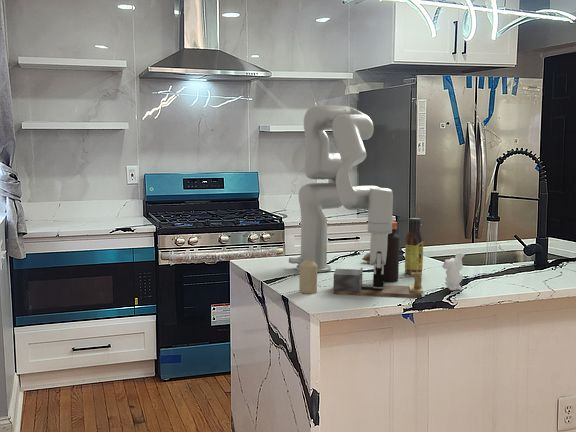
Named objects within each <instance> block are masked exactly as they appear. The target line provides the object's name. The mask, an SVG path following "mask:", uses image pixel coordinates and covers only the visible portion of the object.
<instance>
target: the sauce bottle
mask: <svg viewBox="0 0 576 432" xmlns="http://www.w3.org/2000/svg"><path fill="white" fill-rule="evenodd" d="M408 223H409V231H408V233H407V234H406V236H405V247H404V248H405V249H404V251H405V252H404V253H405V254H404V272H405V274H407V275H411V274H412V272H414V273H416V272H419V273H422V274H423V261H424V260H423V259H424V239H423V235H422V233H421V232H422V231H421V223H422V219H421V218H418V217H410V218H409V219H408Z"/></svg>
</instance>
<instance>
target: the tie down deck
mask: <svg viewBox="0 0 576 432" xmlns="http://www.w3.org/2000/svg"><path fill="white" fill-rule="evenodd" d="M363 270H364V269H363V267H360V268H359V269H354V268H353V269H351V268H335V270H334V272H333V287H332V288H333V290H332V295H346V296H347V295H350V296H368V297H369V296H370V297H371V296H372V297H391V298H392V297H395V298H396V297H397V298H413V299H414V298H417V299H418V298H419V299H420V298H422V295H423V294H424V289H423V285H422V279H423V278H422V276H423V272H422V273H419V272H416V273H414V272H412V274H410V275H411V277H414V281H413V282H414V283H413V284H409V285H390V284H389V285H388V284H384V285H383V289H369V288H361V286H362V284H363ZM422 299H423V298H422Z"/></svg>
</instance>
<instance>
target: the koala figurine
mask: <svg viewBox="0 0 576 432" xmlns="http://www.w3.org/2000/svg"><path fill="white" fill-rule="evenodd" d="M465 254H466V253H465V252H458V251H457V252H456V253H455V257H450V259H445V261H443V263H442V266H441V267H442V269H444V270H445V274H446V277H445V281H444V284H445V286H446V288H447V289H449V290H450V291H456V290H458V291H459V290H463V288H462V286H461V284H460V283H461V282H462V281H463V278H464V275H463V273H460V271H462V270H463V268H464V267H463V260H462V259H463V258H464V256H465Z"/></svg>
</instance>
